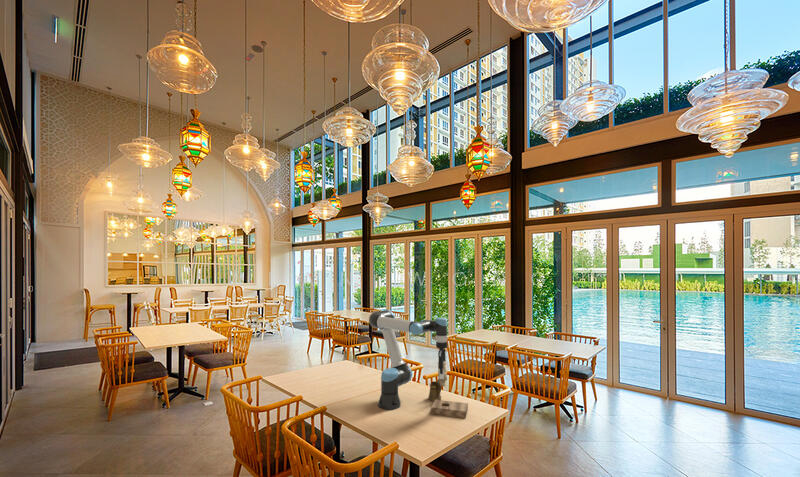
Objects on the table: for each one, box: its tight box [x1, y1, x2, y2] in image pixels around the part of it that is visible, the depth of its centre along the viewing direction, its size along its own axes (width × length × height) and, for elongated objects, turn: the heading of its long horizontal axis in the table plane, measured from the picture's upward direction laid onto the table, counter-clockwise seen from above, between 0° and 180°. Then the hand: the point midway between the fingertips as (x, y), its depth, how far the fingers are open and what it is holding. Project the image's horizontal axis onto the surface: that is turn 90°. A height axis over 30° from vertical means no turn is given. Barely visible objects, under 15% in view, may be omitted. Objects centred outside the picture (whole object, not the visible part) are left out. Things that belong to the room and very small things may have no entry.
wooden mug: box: [427, 379, 442, 402], centre depth 254 cm, size 9×14×18 cm, turn 34°
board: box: [430, 399, 469, 419], centre depth 233 cm, size 22×14×4 cm, turn 74°
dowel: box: [437, 361, 448, 387], centre depth 235 cm, size 6×6×15 cm
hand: (442, 377), depth 235 cm, fingers closed on dowel, 6 cm apart
